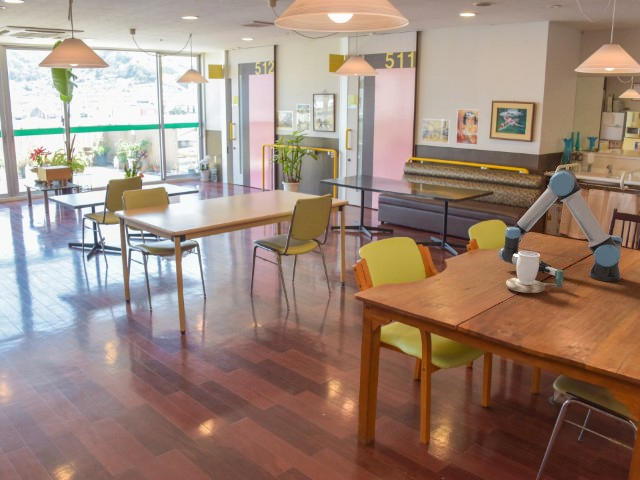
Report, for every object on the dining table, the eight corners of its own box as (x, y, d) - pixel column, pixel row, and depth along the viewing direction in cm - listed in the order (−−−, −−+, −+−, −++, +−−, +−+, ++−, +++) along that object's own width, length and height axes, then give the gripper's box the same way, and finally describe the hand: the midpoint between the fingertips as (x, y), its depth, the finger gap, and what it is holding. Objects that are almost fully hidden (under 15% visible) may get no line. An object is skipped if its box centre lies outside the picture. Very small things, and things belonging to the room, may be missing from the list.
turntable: (514, 293, 291) (515, 276, 289) (500, 281, 309) (502, 265, 307) (569, 292, 293) (571, 276, 291) (552, 281, 310) (554, 265, 308)
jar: (533, 287, 293) (537, 257, 289) (512, 283, 298) (515, 254, 294) (538, 281, 302) (542, 252, 298) (517, 277, 307) (521, 249, 303)
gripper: (532, 266, 326) (565, 278, 305) (512, 268, 321) (545, 281, 300) (533, 252, 324) (567, 264, 303) (513, 255, 319) (546, 267, 298)
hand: (556, 272), depth 302 cm, fingers closed
